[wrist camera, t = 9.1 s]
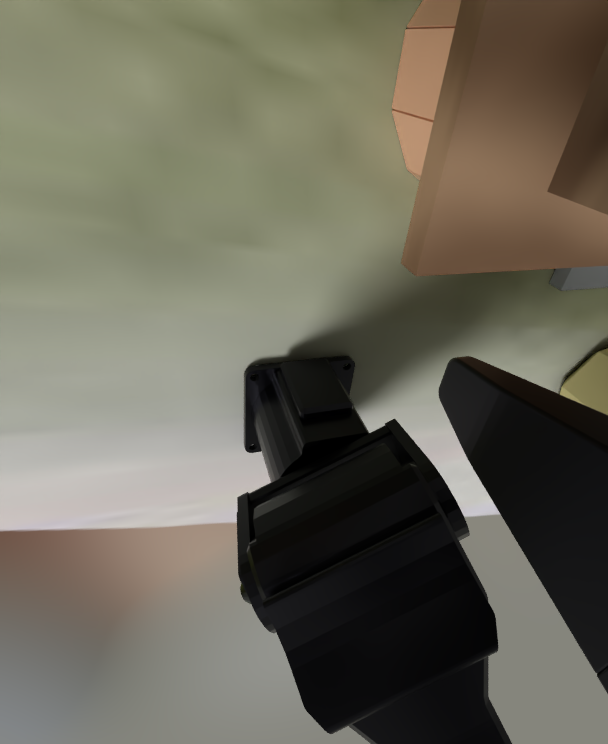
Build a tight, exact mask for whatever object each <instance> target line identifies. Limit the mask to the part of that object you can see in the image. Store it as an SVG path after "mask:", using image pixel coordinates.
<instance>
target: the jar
mask: <svg viewBox="0 0 608 744" xmlns="http://www.w3.org/2000/svg"><path fill="white" fill-rule="evenodd" d="M560 395H562V396H564V397H567V398H569V399H571V400H574V401H576V402H578V403H581V404H583V405H585V406H588V407H590V408H592V409H595V410H597V411H599V412H602V413H604V414H606V415H608V348H607V349H605V350H602V351H599V352H597V353H595V354H593V355H592V356H590V357H589V358H588V359H587V360H586V361H585V362H584V363H583V364H582V365H581V366H580V367H579V368H578V369H577V370H576V371H575V372H574V373H573V374H571V375H570V376H569V377H568V378H567V379H566V380H565V382H564V384H563V386H562V388H561V392H560Z"/></svg>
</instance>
